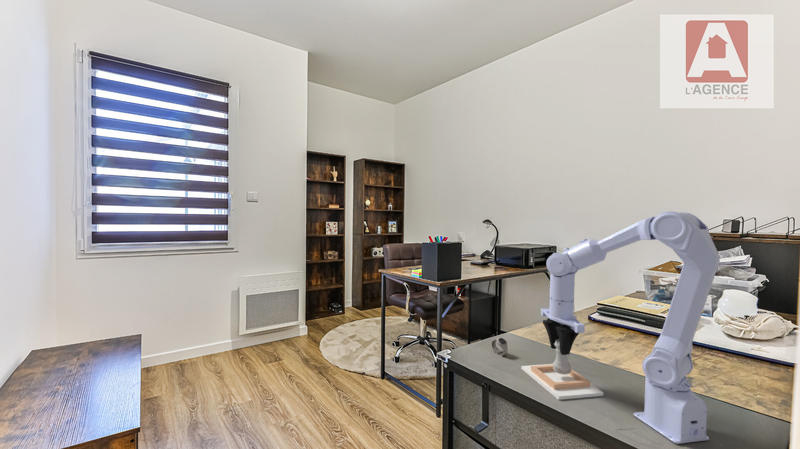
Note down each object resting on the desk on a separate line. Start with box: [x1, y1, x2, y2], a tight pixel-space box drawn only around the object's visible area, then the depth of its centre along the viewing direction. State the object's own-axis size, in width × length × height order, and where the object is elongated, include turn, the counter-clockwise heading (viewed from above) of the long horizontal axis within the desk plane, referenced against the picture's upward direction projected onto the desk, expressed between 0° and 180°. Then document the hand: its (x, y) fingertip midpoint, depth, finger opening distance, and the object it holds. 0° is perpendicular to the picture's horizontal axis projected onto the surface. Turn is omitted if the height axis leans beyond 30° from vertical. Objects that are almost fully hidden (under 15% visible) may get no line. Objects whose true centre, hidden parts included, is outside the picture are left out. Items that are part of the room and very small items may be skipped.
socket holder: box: [520, 363, 604, 401], centre depth 86 cm, size 16×12×2 cm
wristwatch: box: [490, 337, 509, 357], centre depth 104 cm, size 4×6×5 cm, turn 22°
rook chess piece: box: [552, 339, 573, 375], centre depth 87 cm, size 4×4×8 cm
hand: (560, 351), depth 86 cm, fingers closed on rook chess piece, 3 cm apart
